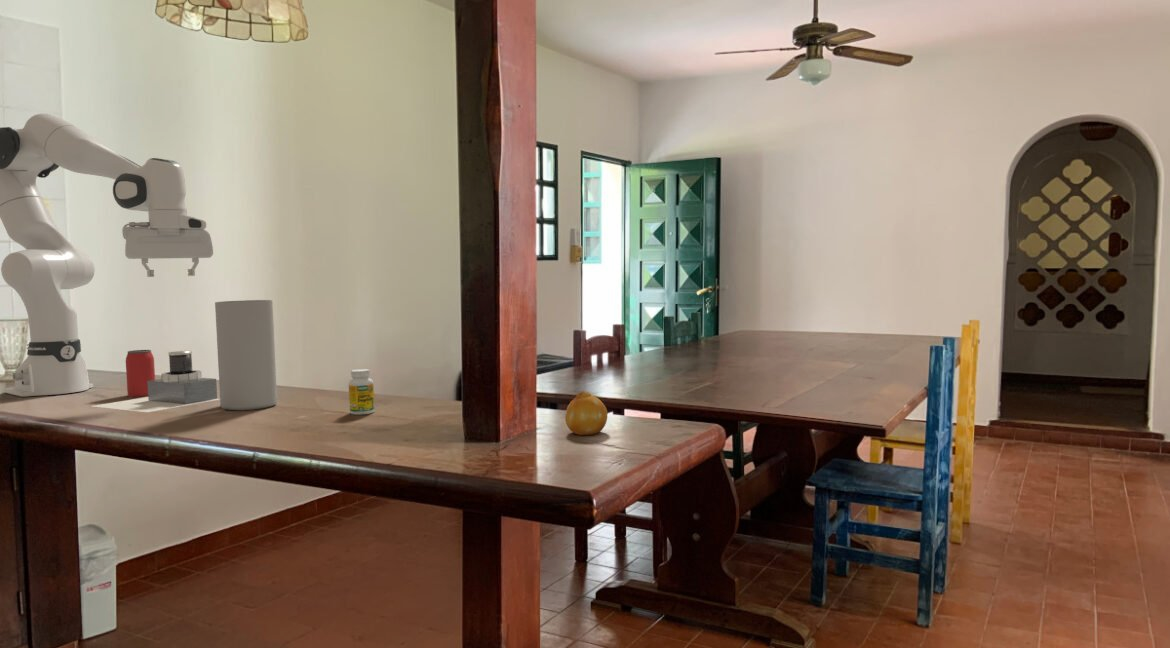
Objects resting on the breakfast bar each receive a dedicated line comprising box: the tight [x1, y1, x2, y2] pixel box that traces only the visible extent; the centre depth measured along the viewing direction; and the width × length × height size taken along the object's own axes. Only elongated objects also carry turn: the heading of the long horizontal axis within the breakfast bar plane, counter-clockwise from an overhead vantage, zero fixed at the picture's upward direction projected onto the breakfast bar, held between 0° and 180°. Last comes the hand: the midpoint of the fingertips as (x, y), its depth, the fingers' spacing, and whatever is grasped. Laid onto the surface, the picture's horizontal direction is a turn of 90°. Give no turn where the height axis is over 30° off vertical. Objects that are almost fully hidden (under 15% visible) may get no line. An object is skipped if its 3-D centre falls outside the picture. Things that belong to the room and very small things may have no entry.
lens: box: [168, 350, 193, 374], centre depth 207 cm, size 5×5×7 cm
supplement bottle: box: [348, 368, 375, 416], centre depth 185 cm, size 5×5×10 cm
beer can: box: [125, 349, 156, 398], centre depth 217 cm, size 7×7×12 cm
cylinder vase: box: [214, 299, 278, 412], centre depth 197 cm, size 12×12×25 cm
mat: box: [90, 396, 220, 414], centre depth 204 cm, size 22×20×1 cm
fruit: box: [564, 391, 608, 436], centre depth 158 cm, size 8×8×8 cm
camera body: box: [147, 369, 218, 404], centre depth 208 cm, size 14×9×7 cm, turn 61°
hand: (171, 276), depth 214 cm, fingers open, 8 cm apart
